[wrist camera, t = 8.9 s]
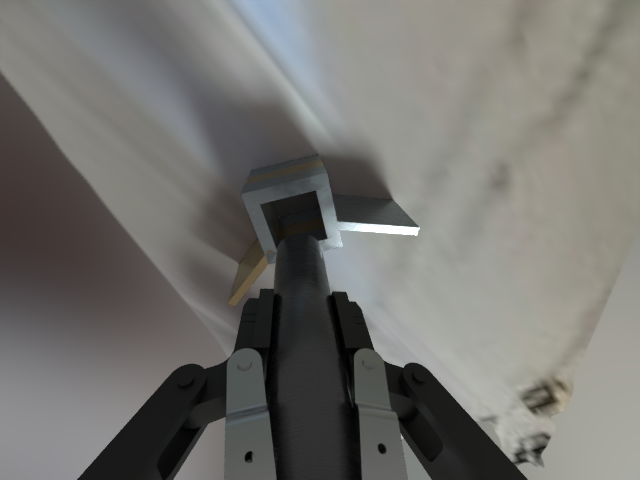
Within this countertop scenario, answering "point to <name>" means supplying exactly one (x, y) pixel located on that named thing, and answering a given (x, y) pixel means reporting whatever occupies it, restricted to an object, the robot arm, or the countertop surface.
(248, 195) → the hinge
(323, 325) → the hinge pin
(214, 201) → the countertop surface
